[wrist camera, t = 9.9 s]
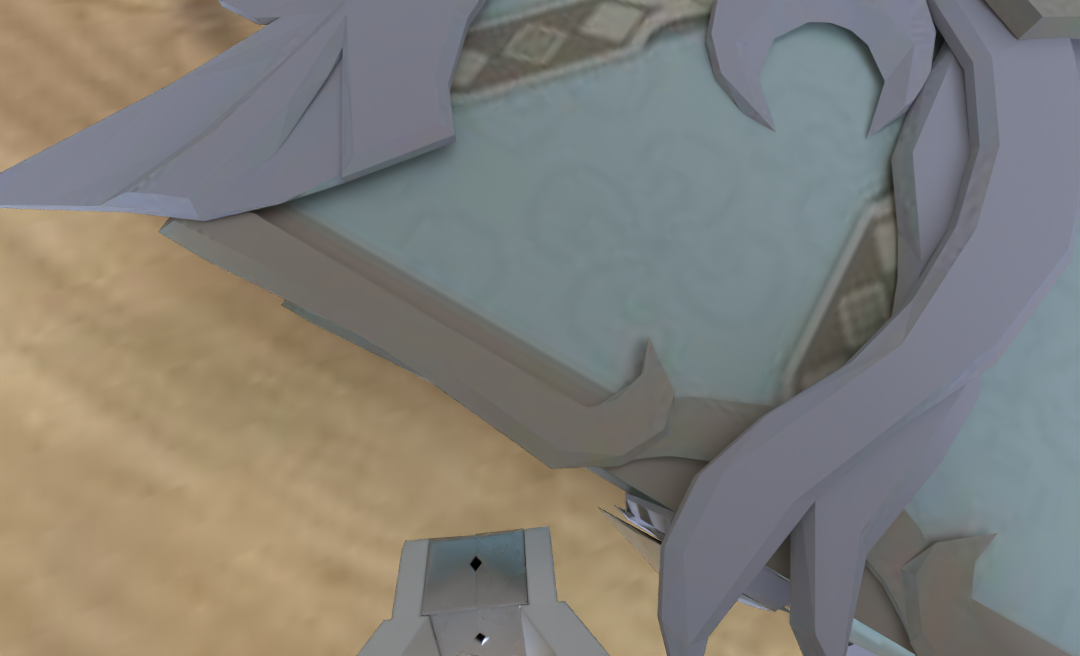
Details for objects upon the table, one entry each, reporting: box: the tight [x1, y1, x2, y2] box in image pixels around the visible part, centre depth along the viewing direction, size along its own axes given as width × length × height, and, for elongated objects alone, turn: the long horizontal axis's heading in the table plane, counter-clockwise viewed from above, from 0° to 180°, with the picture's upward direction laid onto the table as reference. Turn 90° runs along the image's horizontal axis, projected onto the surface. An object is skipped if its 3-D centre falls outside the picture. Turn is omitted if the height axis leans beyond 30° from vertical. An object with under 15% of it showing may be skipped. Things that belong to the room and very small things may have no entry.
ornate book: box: [0, 0, 1080, 656], centre depth 14 cm, size 23×10×30 cm
